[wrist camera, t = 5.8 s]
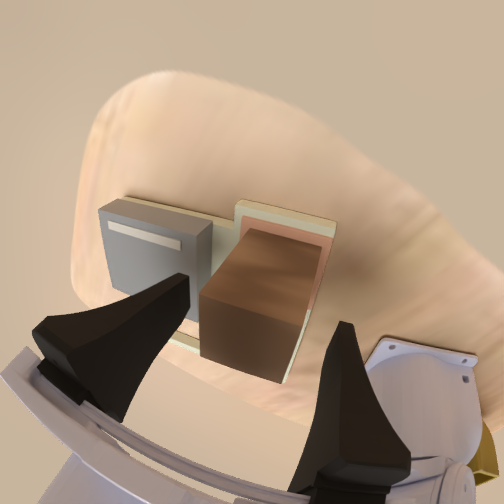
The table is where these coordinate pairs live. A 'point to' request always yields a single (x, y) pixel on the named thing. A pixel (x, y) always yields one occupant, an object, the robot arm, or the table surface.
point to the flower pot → (484, 459)
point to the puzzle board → (267, 221)
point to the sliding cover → (155, 248)
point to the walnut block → (258, 304)
